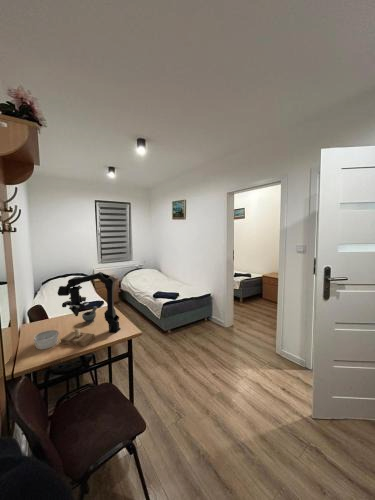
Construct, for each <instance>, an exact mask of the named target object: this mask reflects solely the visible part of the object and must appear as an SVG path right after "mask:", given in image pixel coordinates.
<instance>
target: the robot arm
mask: <svg viewBox="0 0 375 500" xmlns="http://www.w3.org/2000/svg"><path fill="white" fill-rule="evenodd" d="M95 280H99V281H100V282H101V283H102V284H104V287H105V289H106V302H107V303H106V304H107V309H106V310H105V312H104V320H105V322H107V325H108V331H107V332H108V333H114V334H115V333H118V332H119V331H121V327H120V322H119V320H120V316H119V315H117V311H116V309H115V306H114V305H115V304H114V303H115V300H114V299H115V297H114V296H115V292H114V290H115V286H116V283H117V282H116V281H117V280H116V278H115V277H114V276H111V275H109V274H106V273H104V272H101V271H99V272H96V273H92V274H89V275H84V276H74V277H72V278H69V280H68V281H67V284H66V285H64V286H63V285H60V286H58V290H57V296H58V297H64V296H65V297H66V296H69V298H68V299H69V300H66V301H64V302H62V304H61V307H62V308H66V307H67V306H68V309H69V310H70V311H71V312H72V313H73V315H74V316H75V317H78V316H79V313H80V311H81V310H85V309H87V308H88V307H90V304H91V303H90V302H89V301H86V300H87V297H86V296H82V295H80V290H81V289H83V287H82V286H81V284H84V283H86V282H91V281H95Z"/></svg>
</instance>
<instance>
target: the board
mask: <svg viewBox="0 0 375 500" xmlns="http://www.w3.org/2000/svg"><path fill="white" fill-rule="evenodd" d="M59 340H60V344H62V345H63V344H64V345H71V346H78V347H84V348H85V347H86V346H87V345H89V343H91V342H92V341H93V340H95V333H91V332H90V333H88V332H81V331H80V338H78V339H77V338H75V331H70V332H69V333H67V334H65V336H63V337H62V338H60V339H59Z"/></svg>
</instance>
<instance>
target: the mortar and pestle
mask: <svg viewBox="0 0 375 500" xmlns="http://www.w3.org/2000/svg"><path fill="white" fill-rule="evenodd" d="M97 309H98V306H93V308H92V310H89V311H85V312H83V314H82V315H81V317H82V319H83V321H84V323H86V324H88V325H89V324H92V323H94V322H95V318H96V317H97V312H96V311H97Z"/></svg>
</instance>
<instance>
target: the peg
mask: <svg viewBox="0 0 375 500" xmlns="http://www.w3.org/2000/svg"><path fill="white" fill-rule="evenodd" d="M74 332H75V338H77V339H78V338H80V332H81V328H75V329H74Z"/></svg>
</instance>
